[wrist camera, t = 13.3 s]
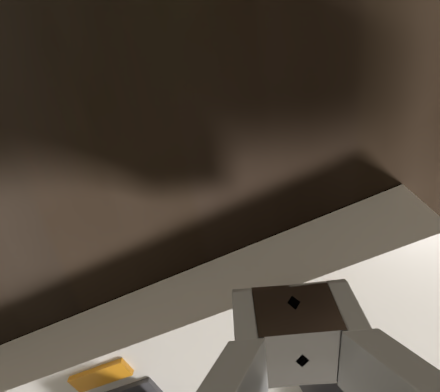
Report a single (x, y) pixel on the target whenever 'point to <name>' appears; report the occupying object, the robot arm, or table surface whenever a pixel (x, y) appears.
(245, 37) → the table surface
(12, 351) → the switch panel
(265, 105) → the table surface
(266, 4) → the table surface
